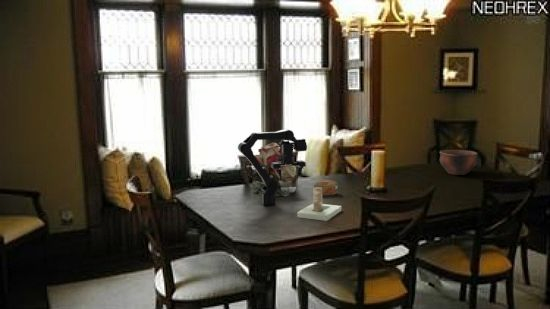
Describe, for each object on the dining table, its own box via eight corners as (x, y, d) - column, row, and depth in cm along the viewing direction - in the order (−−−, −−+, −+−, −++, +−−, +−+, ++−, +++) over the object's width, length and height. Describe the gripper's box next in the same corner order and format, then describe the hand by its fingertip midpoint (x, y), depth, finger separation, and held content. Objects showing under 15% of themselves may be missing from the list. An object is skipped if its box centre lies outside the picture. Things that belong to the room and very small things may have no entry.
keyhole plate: (326, 220, 260) (326, 215, 259) (297, 217, 267) (297, 212, 267) (341, 210, 277) (341, 206, 276) (313, 207, 284) (313, 203, 284)
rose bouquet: (293, 197, 307) (292, 146, 302) (246, 195, 317) (244, 145, 312) (304, 187, 331) (304, 140, 326) (261, 185, 341) (259, 139, 336)
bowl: (480, 171, 366) (481, 150, 363) (472, 178, 345) (473, 155, 343) (443, 168, 379) (444, 148, 376) (434, 175, 358) (434, 153, 356)
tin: (314, 196, 310) (314, 182, 308) (313, 195, 313) (312, 181, 311) (339, 194, 312) (339, 180, 311) (337, 193, 315) (337, 179, 314)
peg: (315, 216, 267) (315, 189, 265) (312, 214, 272) (311, 187, 269) (323, 215, 268) (323, 188, 266) (320, 213, 273) (320, 186, 271)
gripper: (299, 149, 302) (300, 175, 304) (267, 151, 297) (268, 178, 299) (305, 151, 291) (306, 179, 294) (273, 154, 286) (274, 182, 289)
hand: (288, 179), depth 294 cm, fingers open, 9 cm apart
